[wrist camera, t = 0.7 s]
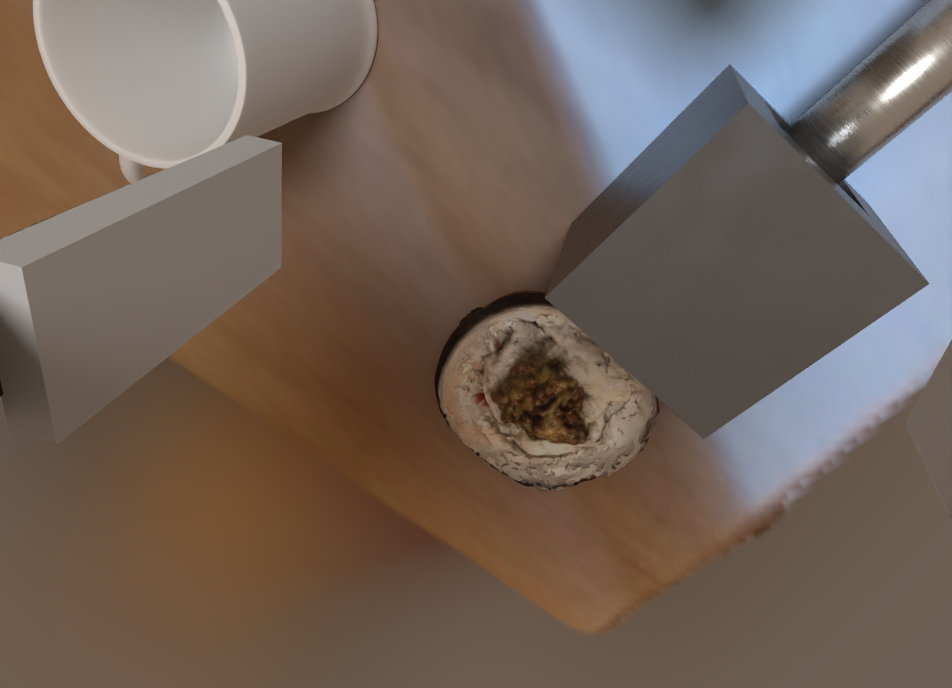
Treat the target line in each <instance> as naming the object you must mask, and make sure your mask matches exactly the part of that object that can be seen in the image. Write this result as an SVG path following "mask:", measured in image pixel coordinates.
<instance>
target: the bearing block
mask: <svg viewBox="0 0 952 688" xmlns="http://www.w3.org/2000/svg"><path fill="white" fill-rule="evenodd" d="M790 126H791V125H790V124H789V123H788V122H787V121H786V120H785V119H784V118H783V117H782V116H781V115H780V114H779V113H778V112H777V111H776V110H775V109H774V108H773V107H772V106H771V105H770V104H769V103H768V102H767V101H766V100H765V99H764V98H763V97H762V96H761V95H760V94H759V93H758V92H757V91H756V90H755V89H754V88H753V87H752V86H751V85H750V84H749V83H748V82H747V81H746V80H745V79H744V78H743V77H742V76H741V75H740V74H739V73H738V72H737V71H736V70H735V69H734V68H733V67H732V66H731V65H729V66H728V67H727V68H726V69H725V70H724V71H723V72H722V73H721V74H720V75H719V76H718V77H717V78H716V79H715V80H714V81H713V82H712V83H711V84H710V85H709V86H708V87H707V88H706V89H705V90H704V91H703V92H702V93H701V94H700V95H699V96H698V97H697V98H696V99H695V100H694V101H693V102H692V103H691V104H690V105H689V106H688V107H687V108H686V109H685V110H684V111H683V112H682V113H681V114H680V115H679V116H678V117H677V118H676V119H675V120H674V121H673V122H672V123H671V124H670V125H669V126H668V127H667V128H666V129H665V130H664V131H663V132H662V133H661V134H660V135H659V136H658V137H657V138H656V139H655V140H654V141H653V142H652V143H651V144H650V145H649V146H648V147H647V148H646V149H645V150H644V151H643V152H642V153H641V154H640V155H639V156H638V157H637V158H636V159H635V160H634V161H633V162H632V163H631V164H630V165H629V166H628V167H627V168H626V169H625V170H624V171H623V172H622V173H621V174H620V175H619V176H618V177H617V178H616V179H615V180H614V181H613V182H612V183H611V184H610V185H609V186H608V187H607V188H606V189H605V190H604V191H603V192H602V193H601V194H600V195H599V196H598V197H597V198H596V199H595V200H594V201H593V202H592V203H591V204H590V205H589V206H588V207H587V208H586V209H585V210H584V211H583V212H582V213H581V214H580V215H579V216H578V217H577V218H576V219H575V220H574V221H573V222H572V224H571V227H570V229H569V232H568V235H567V238H566V240H565V243H564V246H563V248H562V251H561V254H560V257H559V259H558V262H557V265H556V268H555V270H554V273H553V276H552V279H551V281H550V284H549V287H548V290H547V292H546V295H545V299H547V300H548V301H549V302H550V303H551V304H552V305H553V306H554V307H556V308H557V309H558V310H559V311H560V312H561V313H562V314H564V315H565V316H566V317H567V318H568V319H569V320H570V321H571V322H573V323H574V324H575V325H576V326H577V327H578V328H579V329H580V330H582V331H583V332H584V333H585V334H586V335H587V336H588V337H589V338H591V339H592V340H593V341H594V342H595V343H596V344H597V345H598V346H600V347H601V348H602V349H603V350H604V351H605V352H606V353H608V354H609V355H610V356H611V357H612V358H613V359H614V360H615V361H617V362H618V363H619V364H620V365H621V366H622V367H623V368H624V369H626V370H627V371H628V372H629V373H630V374H631V375H632V376H633V377H635V378H636V379H637V380H638V381H639V382H640V383H641V384H643V385H644V386H645V387H646V388H647V389H648V390H649V391H650V392H652V393H653V394H654V395H655V396H656V397H657V398H658V399H659V400H661V401H662V402H663V403H664V404H665V405H666V406H667V407H668V408H670V409H671V410H672V411H673V412H674V413H675V414H676V415H678V416H679V417H680V418H681V419H682V420H683V421H684V422H685V423H687V424H688V425H689V426H690V427H691V428H692V429H693V430H694V431H696V432H697V433H698V434H699V435H700V436H701V437H702V438H703V439H704V438H706V437H707V436H709V435H710V434H712V433H713V432H714V431H716V430H717V429H719V428H720V427H722V426H723V425H725V424H726V423H728V422H729V421H730V420H732V419H733V418H735V417H736V416H738V415H739V414H741V413H742V412H744V411H745V410H746V409H748V408H749V407H751V406H752V405H754V404H755V403H757V402H758V401H760V400H761V399H762V398H764V397H765V396H767V395H768V394H770V393H771V392H773V391H774V390H776V389H777V388H778V387H780V386H781V385H783V384H784V383H786V382H787V381H789V380H790V379H792V378H793V377H794V376H796V375H797V374H799V373H800V372H802V371H803V370H805V369H806V368H808V367H809V366H810V365H812V364H813V363H815V362H816V361H818V360H819V359H821V358H822V357H824V356H825V355H826V354H828V353H829V352H831V351H832V350H834V349H835V348H837V347H838V346H839V345H841V344H842V343H844V342H845V341H847V340H848V339H850V338H851V337H853V336H854V335H855V334H857V333H858V332H860V331H861V330H863V329H864V328H866V327H867V326H869V325H870V324H871V323H873V322H874V321H876V320H877V319H879V318H880V317H882V316H883V315H885V314H886V313H887V312H889V311H890V310H892V309H893V308H895V307H896V306H898V305H899V304H901V303H902V302H903V301H905V300H906V299H908V298H909V297H911V296H912V295H914V294H915V293H917V292H918V291H919V290H921V289H922V288H924V287H925V286H927V285H928V284H929V283H928V281H927V280H926V279H925V277H924V276H923V275H922V274H921V272H920V271H919V270H918V268H917V267H916V266H915V264H914V263H913V262H912V260H911V259H910V258H909V256H908V255H907V254H906V253H905V251H904V250H903V249H902V247H901V246H900V245H899V243H898V242H897V241H896V239H895V238H894V237H893V235H892V234H891V233H890V232H889V230H888V229H887V228H886V226H885V225H884V224H883V222H882V221H881V220H880V218H879V217H878V216H877V214H876V213H875V212H874V211H873V209H872V208H871V207H870V205H869V204H868V203H867V202H866V201H865V200H864V199H863V198H862V197H861V196H860V195H859V194H858V193H857V192H856V191H855V190H854V189H853V188H852V187H851V186H850V185H849V184H848V183H847V182H846V181H845V180H843V181H841V182H840V183H839V184H837V183H836V182H835V181H834V180H833V179H832V178H831V177H830V176H829V175H828V174H827V173H826V172H825V171H824V170H823V169H822V168H821V167H820V166H819V165H818V164H817V163H816V162H815V161H814V160H813V159H812V158H811V157H810V156H809V155H808V154H807V153H806V152H805V151H804V150H803V149H802V148H801V147H800V146H799V145H798V144H797V143H796V142H795V141H794V140H793V139H792V138H791V137H790V136H789V135H788V134H787V133H786V132H785V130H787V129H788V128H789V127H790Z"/></svg>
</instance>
